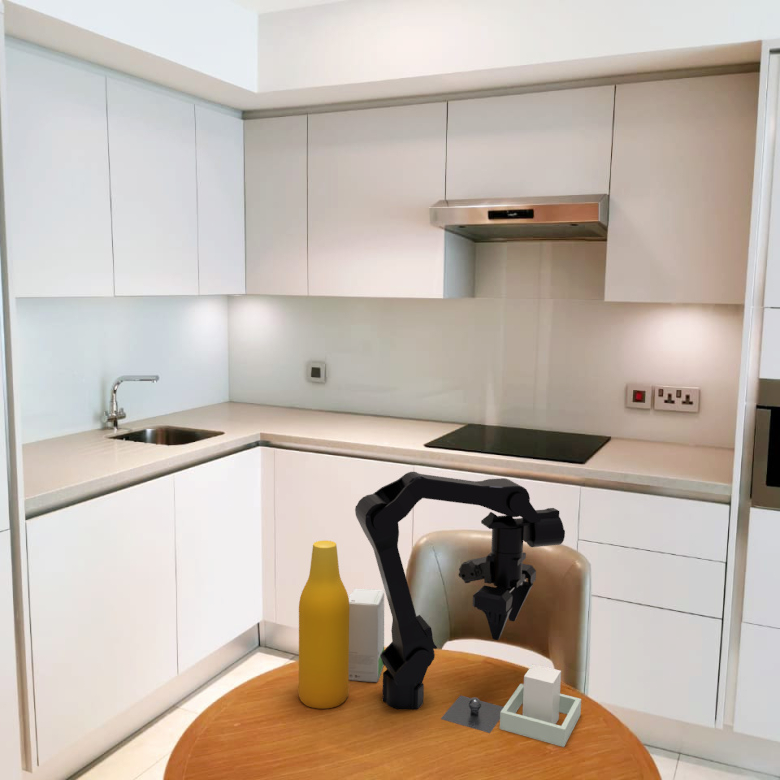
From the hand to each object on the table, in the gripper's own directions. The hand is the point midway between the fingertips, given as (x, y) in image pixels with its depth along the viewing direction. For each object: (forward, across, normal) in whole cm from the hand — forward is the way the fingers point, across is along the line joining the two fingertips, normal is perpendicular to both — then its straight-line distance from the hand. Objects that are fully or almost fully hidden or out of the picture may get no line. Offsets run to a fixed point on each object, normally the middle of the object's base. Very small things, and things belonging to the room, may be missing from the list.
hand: (504, 629), depth 146 cm
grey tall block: (+11, +9, +10) cm, 17 cm away
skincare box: (+12, +6, -26) cm, 29 cm away
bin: (+12, +8, +10) cm, 18 cm away
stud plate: (+12, +12, -1) cm, 17 cm away
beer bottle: (+12, +18, -28) cm, 35 cm away
